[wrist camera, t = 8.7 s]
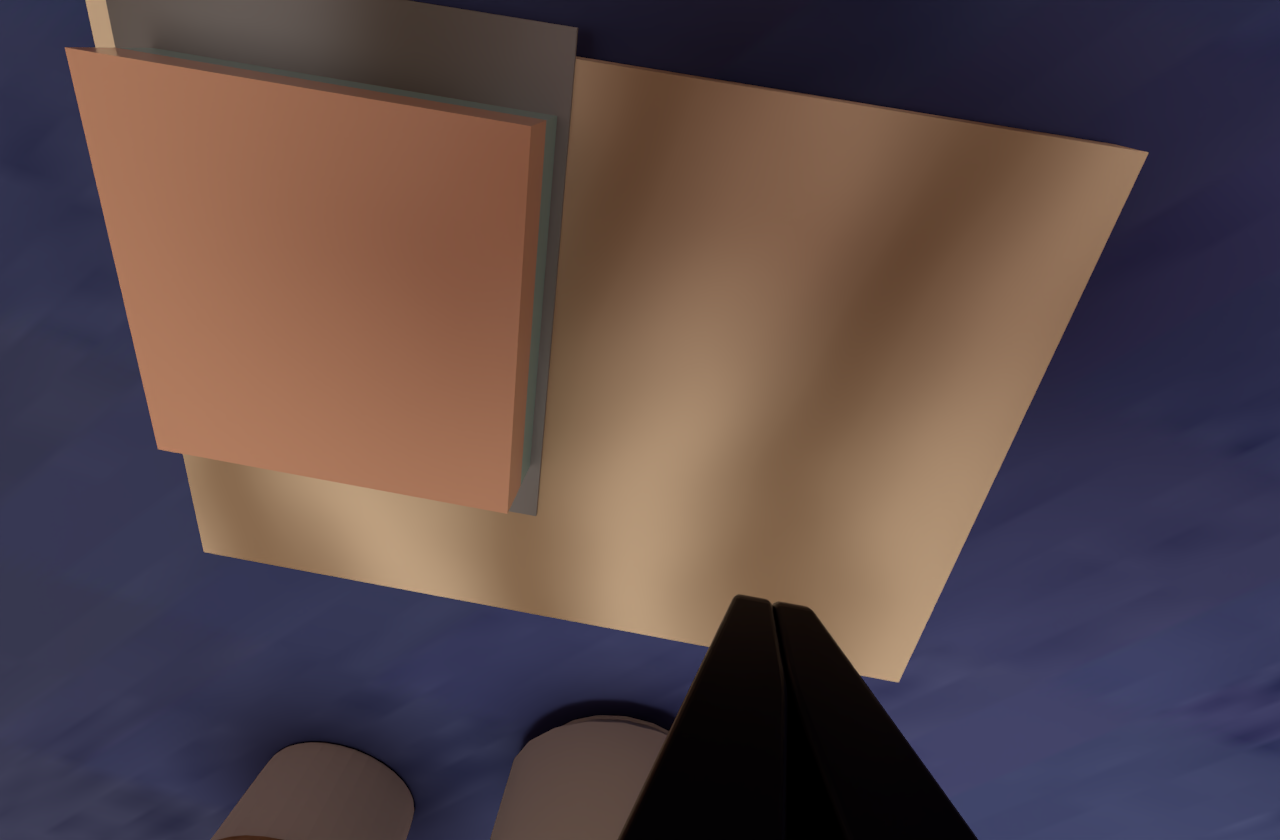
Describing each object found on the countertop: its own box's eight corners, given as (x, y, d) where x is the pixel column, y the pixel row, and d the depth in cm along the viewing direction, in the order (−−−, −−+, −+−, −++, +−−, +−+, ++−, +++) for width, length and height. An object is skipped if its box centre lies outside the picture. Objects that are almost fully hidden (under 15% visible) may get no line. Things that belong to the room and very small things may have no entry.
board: (1128, 116, 13) (1166, 123, 12) (889, 649, 20) (899, 685, 19) (123, -47, 14) (68, -55, 13) (230, 526, 21) (201, 554, 20)
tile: (530, 125, 11) (64, 47, 12) (507, 513, 15) (157, 449, 15) (557, 116, 13) (151, 47, 13) (529, 465, 17) (216, 408, 17)
